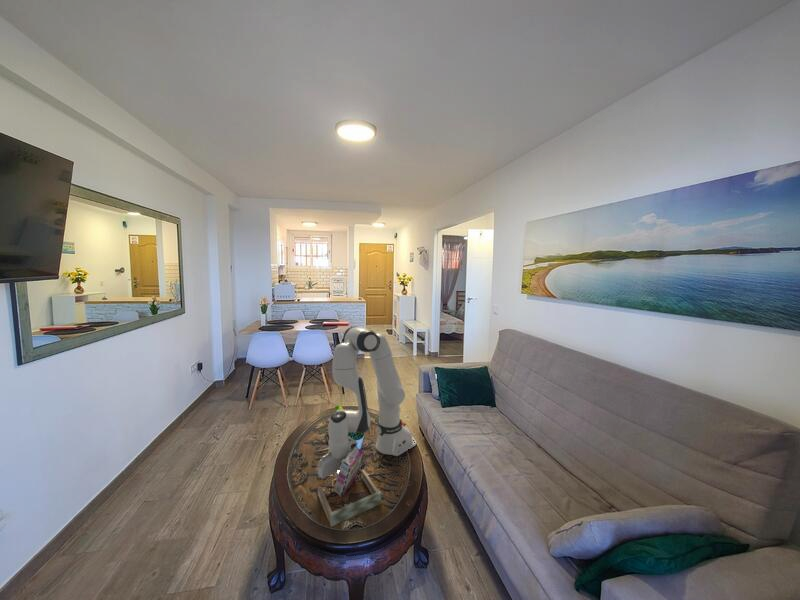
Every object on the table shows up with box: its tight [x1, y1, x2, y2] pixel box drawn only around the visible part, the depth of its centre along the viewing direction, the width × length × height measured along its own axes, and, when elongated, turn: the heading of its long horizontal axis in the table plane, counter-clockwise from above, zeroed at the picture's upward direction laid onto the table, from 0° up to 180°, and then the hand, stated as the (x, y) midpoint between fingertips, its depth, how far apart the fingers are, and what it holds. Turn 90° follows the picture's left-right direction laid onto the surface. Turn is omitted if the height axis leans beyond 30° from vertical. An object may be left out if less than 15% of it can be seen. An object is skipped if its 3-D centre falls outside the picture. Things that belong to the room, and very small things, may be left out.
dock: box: [317, 469, 382, 527], centre depth 125 cm, size 21×17×5 cm
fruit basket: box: [333, 404, 345, 412], centre depth 181 cm, size 11×9×11 cm
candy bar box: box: [332, 446, 364, 498], centre depth 130 cm, size 11×5×16 cm, turn 157°
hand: (338, 475), depth 136 cm, fingers closed
